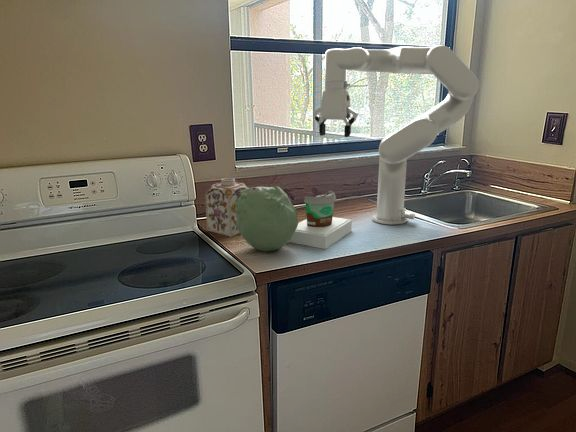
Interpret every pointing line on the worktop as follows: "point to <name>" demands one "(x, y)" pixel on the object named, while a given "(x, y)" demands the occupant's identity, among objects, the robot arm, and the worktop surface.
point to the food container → (320, 209)
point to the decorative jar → (223, 206)
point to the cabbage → (265, 217)
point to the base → (321, 233)
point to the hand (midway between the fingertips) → (334, 135)
